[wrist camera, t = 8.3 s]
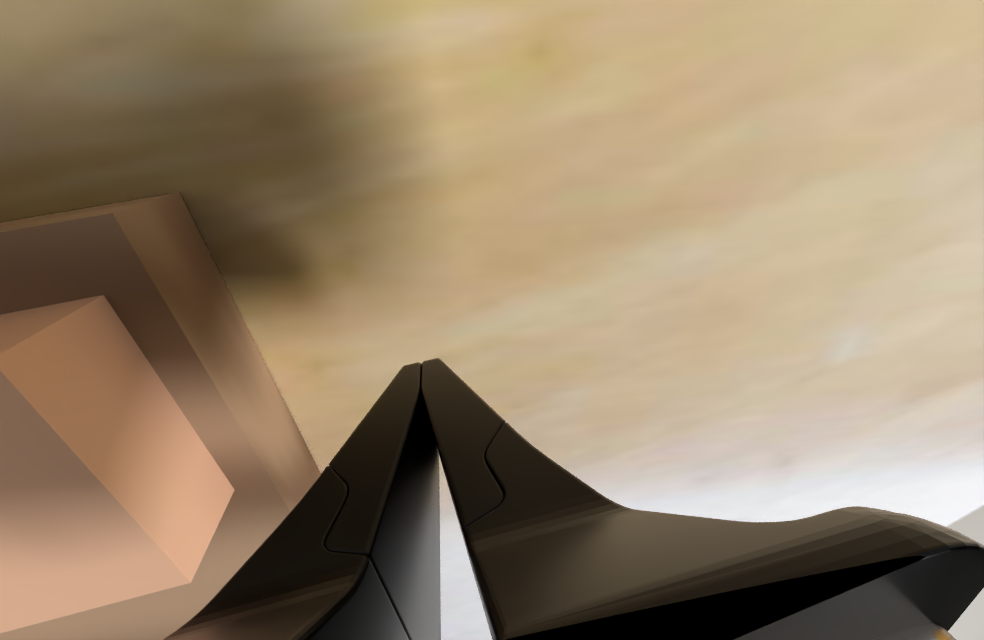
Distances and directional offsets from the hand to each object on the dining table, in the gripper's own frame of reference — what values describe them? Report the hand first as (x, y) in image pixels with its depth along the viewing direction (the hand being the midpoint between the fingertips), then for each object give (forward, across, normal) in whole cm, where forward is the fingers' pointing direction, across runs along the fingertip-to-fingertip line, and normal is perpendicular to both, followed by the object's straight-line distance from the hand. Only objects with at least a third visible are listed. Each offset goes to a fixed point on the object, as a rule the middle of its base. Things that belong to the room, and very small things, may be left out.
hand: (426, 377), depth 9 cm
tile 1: (+1, +9, 0) cm, 9 cm away
